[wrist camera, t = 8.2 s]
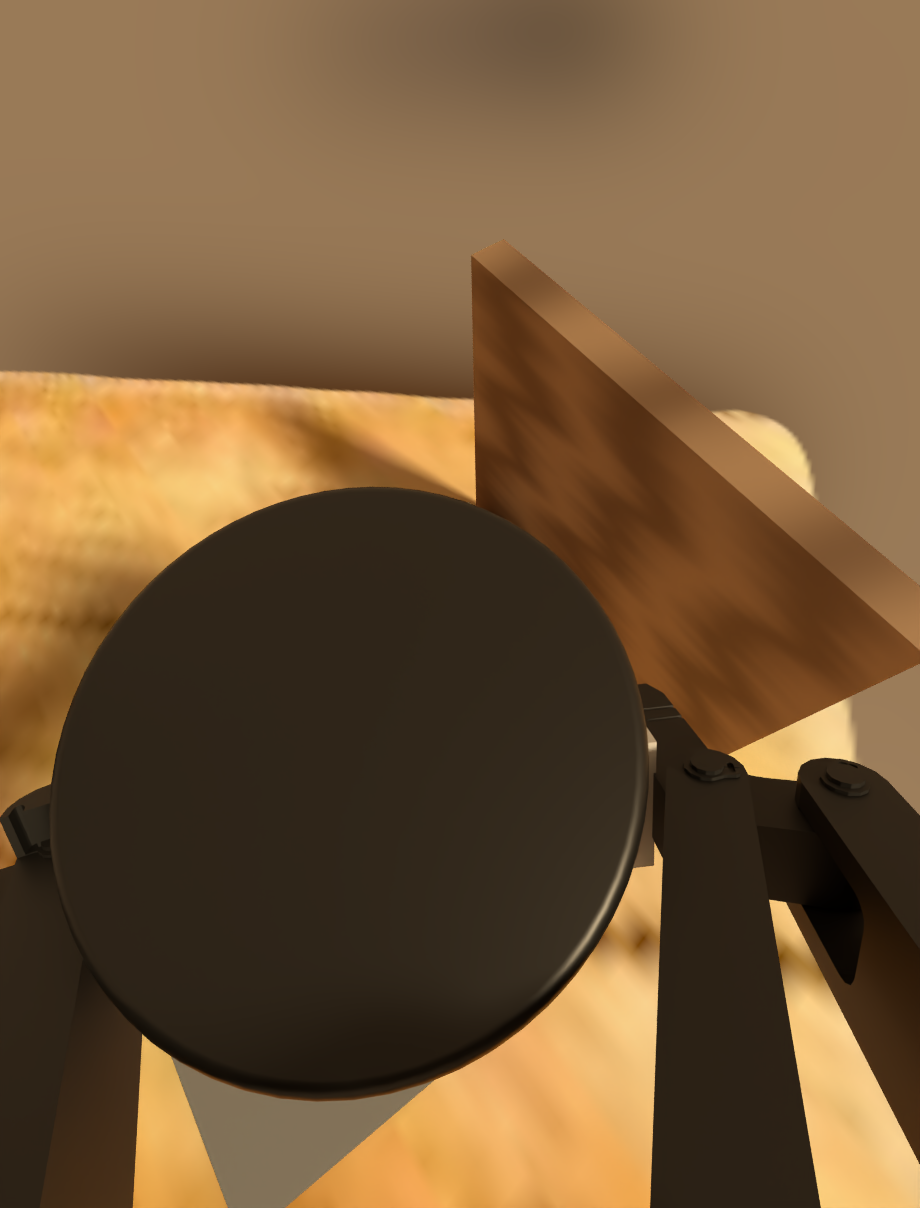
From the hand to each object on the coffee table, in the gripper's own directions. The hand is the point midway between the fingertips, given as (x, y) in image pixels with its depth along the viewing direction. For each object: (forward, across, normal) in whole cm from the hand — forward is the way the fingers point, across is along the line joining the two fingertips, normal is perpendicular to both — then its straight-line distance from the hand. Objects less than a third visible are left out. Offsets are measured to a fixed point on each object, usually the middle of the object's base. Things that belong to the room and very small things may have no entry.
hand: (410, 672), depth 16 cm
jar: (+1, 0, -5) cm, 5 cm away
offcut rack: (+14, +3, -9) cm, 17 cm away
